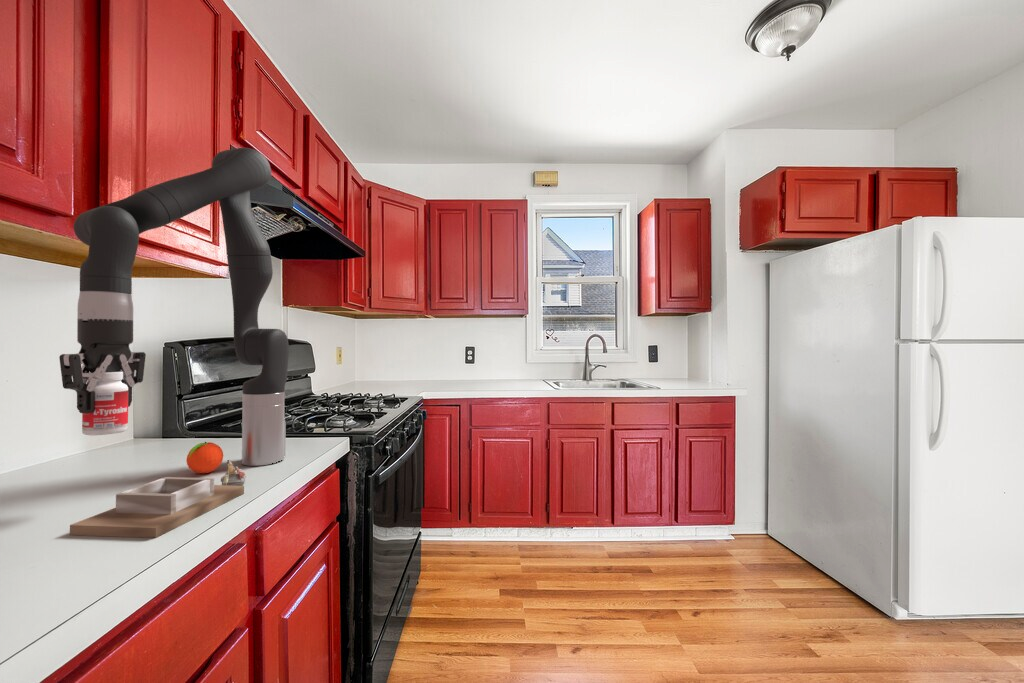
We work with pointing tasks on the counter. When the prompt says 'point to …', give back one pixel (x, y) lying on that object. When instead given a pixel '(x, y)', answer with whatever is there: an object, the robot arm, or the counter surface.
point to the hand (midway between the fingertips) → (105, 409)
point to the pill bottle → (108, 407)
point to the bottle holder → (157, 507)
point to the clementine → (204, 457)
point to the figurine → (233, 476)
